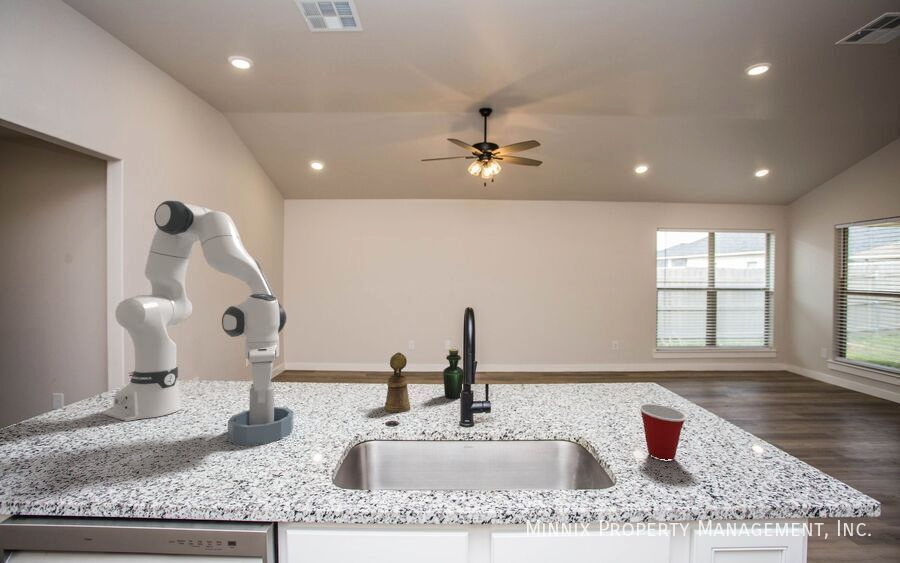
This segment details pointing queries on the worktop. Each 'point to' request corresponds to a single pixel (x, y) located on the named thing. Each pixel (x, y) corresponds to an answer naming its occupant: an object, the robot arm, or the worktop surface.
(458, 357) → the potion bottle
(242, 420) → the bowl
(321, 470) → the worktop surface
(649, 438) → the plastic cup
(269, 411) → the beverage can
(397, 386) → the wooden bell
